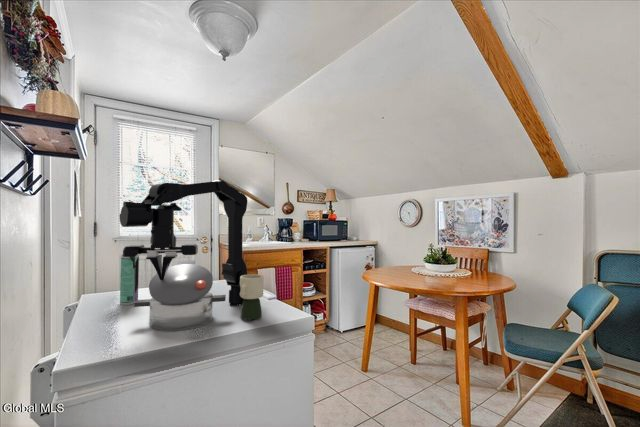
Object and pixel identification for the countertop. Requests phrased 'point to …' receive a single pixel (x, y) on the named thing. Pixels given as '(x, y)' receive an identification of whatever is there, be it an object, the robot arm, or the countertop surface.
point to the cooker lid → (181, 284)
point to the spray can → (129, 280)
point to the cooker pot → (180, 313)
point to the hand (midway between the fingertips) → (162, 279)
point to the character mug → (251, 295)
